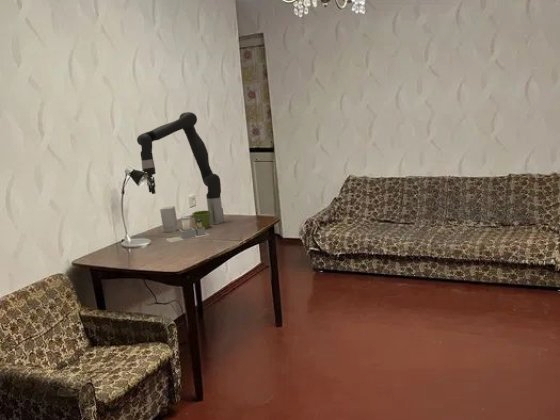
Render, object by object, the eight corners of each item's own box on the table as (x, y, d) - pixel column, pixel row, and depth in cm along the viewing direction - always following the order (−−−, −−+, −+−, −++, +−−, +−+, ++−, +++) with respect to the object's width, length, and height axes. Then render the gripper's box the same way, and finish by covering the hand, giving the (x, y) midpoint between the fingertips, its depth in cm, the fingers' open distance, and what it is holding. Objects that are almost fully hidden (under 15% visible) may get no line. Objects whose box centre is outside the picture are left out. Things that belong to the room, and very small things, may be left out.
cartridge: (190, 235, 317) (187, 216, 314) (192, 236, 313) (190, 217, 310) (182, 236, 315) (180, 217, 313) (184, 238, 311) (182, 218, 308)
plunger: (202, 229, 319) (201, 218, 318) (204, 230, 316) (203, 219, 314) (195, 230, 318) (194, 219, 316) (197, 231, 314) (196, 220, 313)
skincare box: (178, 229, 342) (175, 206, 339) (175, 232, 336) (172, 208, 333) (166, 230, 343) (163, 206, 340) (162, 232, 337) (159, 209, 334)
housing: (204, 234, 323) (203, 224, 322) (209, 237, 314) (208, 227, 313) (166, 241, 314) (164, 231, 313) (170, 244, 305) (168, 234, 304)
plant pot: (190, 232, 332) (188, 214, 330) (200, 227, 343) (198, 210, 341) (207, 232, 328) (205, 214, 326) (216, 227, 338) (214, 210, 336)
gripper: (156, 167, 318) (160, 193, 321) (152, 165, 331) (156, 190, 334) (144, 168, 315) (148, 195, 318) (140, 167, 328) (144, 192, 331)
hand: (152, 192), depth 326 cm, fingers open, 8 cm apart
